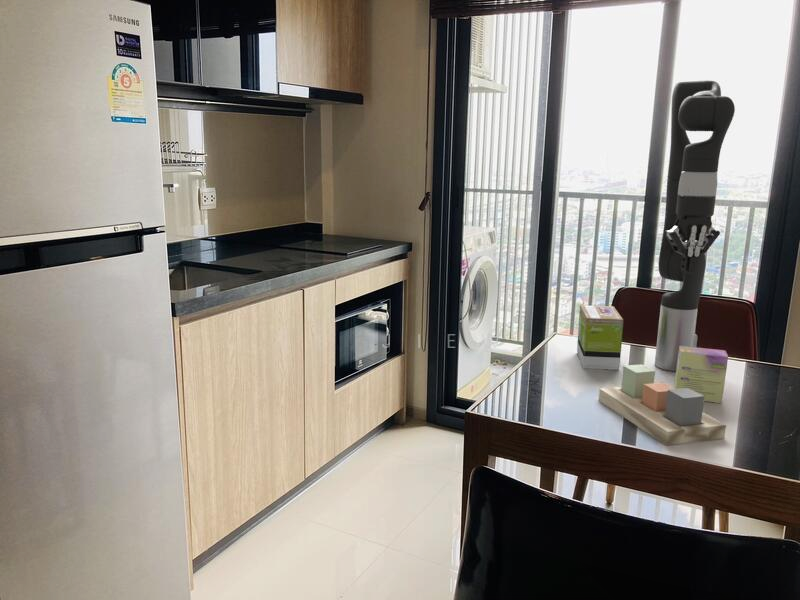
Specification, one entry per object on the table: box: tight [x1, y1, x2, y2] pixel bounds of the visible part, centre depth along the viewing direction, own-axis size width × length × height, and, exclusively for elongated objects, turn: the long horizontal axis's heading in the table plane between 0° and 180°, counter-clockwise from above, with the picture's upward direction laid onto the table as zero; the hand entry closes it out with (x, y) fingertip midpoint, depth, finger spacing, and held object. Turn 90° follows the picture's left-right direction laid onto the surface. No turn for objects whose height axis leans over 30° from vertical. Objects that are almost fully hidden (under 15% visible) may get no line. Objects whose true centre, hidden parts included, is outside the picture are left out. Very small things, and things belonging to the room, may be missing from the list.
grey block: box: [665, 388, 705, 427], centre depth 137 cm, size 5×5×6 cm
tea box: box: [576, 304, 624, 371], centre depth 183 cm, size 15×10×15 cm, turn 172°
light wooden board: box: [598, 386, 727, 446], centre depth 146 cm, size 14×25×3 cm, turn 15°
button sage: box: [620, 363, 656, 399], centre depth 152 cm, size 5×5×6 cm
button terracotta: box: [642, 382, 675, 412], centre depth 145 cm, size 5×5×6 cm
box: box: [673, 346, 729, 404], centre depth 158 cm, size 10×6×12 cm, turn 71°
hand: (687, 272), depth 144 cm, fingers closed
